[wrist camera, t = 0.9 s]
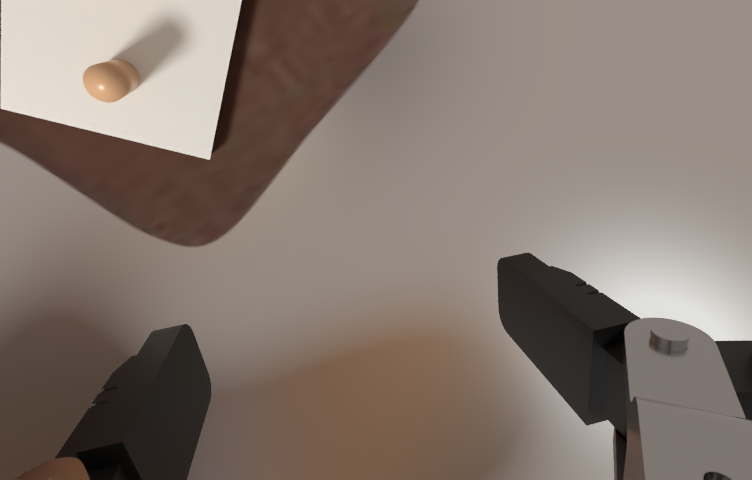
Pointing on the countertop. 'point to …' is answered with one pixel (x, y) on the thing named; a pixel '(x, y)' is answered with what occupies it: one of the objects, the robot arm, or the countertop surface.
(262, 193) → the countertop surface
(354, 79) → the countertop surface
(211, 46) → the plate
